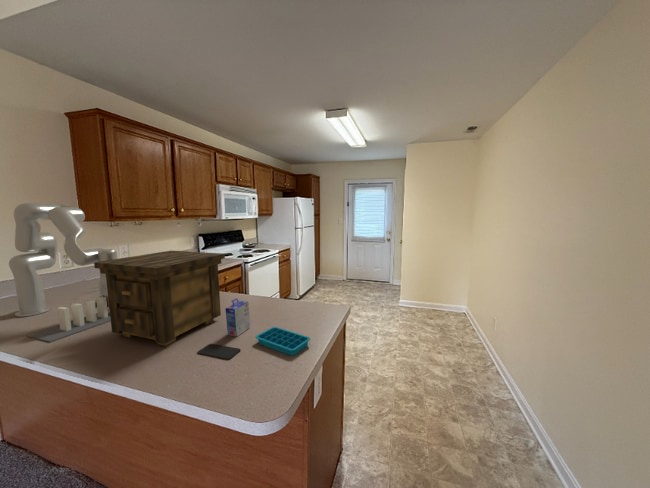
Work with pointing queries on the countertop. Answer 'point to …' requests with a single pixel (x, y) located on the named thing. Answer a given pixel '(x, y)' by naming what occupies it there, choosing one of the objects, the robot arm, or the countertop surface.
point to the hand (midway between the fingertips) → (113, 306)
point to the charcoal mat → (57, 333)
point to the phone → (219, 351)
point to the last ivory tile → (64, 318)
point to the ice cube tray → (283, 340)
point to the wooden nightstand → (162, 293)
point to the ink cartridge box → (237, 317)
